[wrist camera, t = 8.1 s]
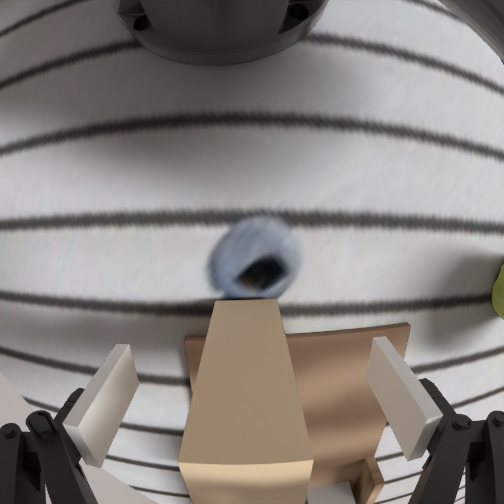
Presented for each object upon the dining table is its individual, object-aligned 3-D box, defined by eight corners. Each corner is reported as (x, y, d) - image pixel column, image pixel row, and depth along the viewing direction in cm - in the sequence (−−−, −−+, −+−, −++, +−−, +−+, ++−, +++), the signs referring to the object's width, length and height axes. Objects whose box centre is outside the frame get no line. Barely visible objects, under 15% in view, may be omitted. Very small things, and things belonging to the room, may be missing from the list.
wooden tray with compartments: (185, 336, 21) (172, 372, 17) (407, 322, 21) (435, 350, 17) (222, 518, 28) (221, 545, 24) (348, 508, 28) (355, 532, 24)
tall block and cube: (207, 301, 20) (161, 460, 7) (284, 298, 20) (329, 457, 7) (227, 463, 24) (221, 578, 11) (279, 462, 24) (292, 576, 11)
